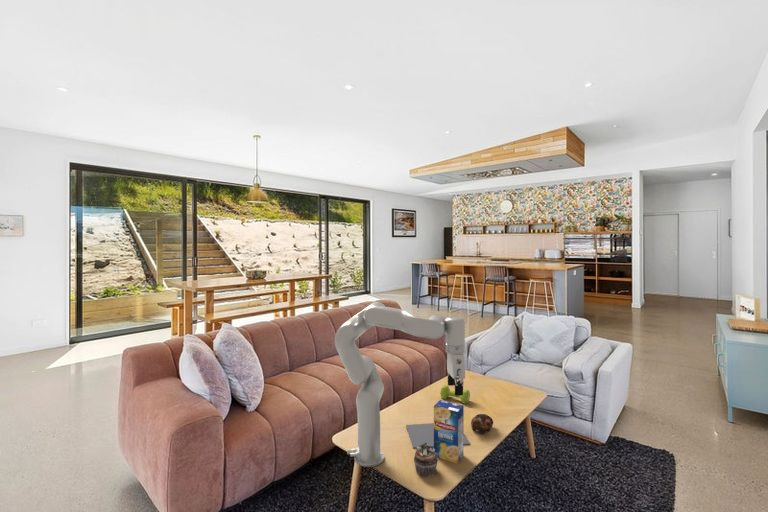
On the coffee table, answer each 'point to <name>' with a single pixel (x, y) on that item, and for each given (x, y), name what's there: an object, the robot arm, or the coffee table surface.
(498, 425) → the coffee table surface
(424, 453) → the cupcake
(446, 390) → the dumbbell
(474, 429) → the decorative turtle
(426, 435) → the mat
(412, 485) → the coffee table surface
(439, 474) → the coffee table surface
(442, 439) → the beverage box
